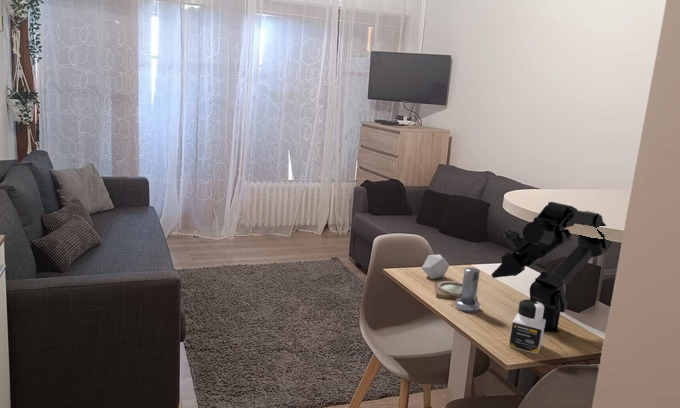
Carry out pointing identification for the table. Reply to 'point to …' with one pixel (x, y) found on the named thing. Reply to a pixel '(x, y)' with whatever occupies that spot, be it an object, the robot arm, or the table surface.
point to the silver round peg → (469, 291)
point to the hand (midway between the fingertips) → (498, 272)
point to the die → (435, 266)
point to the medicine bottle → (528, 327)
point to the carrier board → (448, 289)
